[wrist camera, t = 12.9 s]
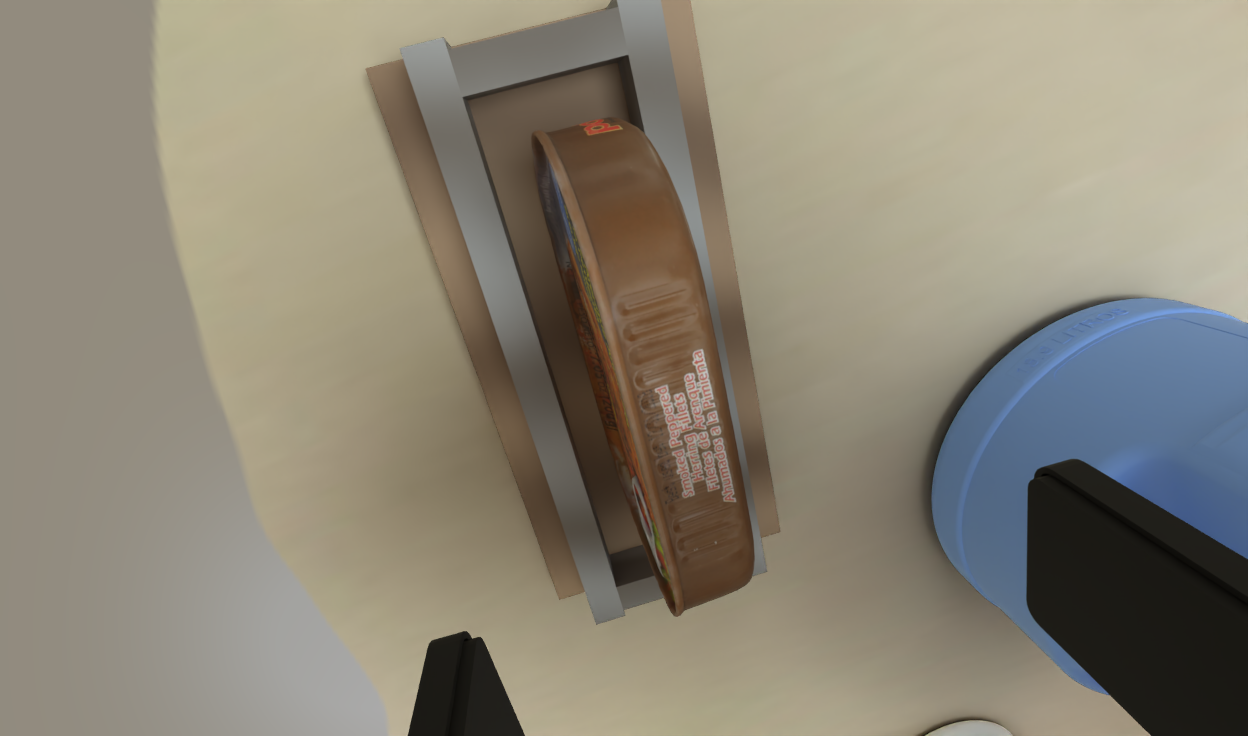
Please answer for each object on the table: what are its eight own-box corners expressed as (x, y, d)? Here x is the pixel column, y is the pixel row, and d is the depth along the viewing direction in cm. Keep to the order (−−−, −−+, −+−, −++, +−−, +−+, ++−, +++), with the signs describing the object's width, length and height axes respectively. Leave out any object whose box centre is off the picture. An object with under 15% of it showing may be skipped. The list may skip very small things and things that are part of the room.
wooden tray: (771, 518, 28) (799, 561, 25) (558, 583, 27) (562, 635, 24) (680, -6, 20) (706, -29, 17) (372, 71, 19) (347, 61, 16)
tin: (520, 134, 19) (520, 135, 12) (616, 109, 20) (679, 94, 12) (627, 514, 25) (675, 686, 17) (700, 493, 25) (780, 653, 18)
